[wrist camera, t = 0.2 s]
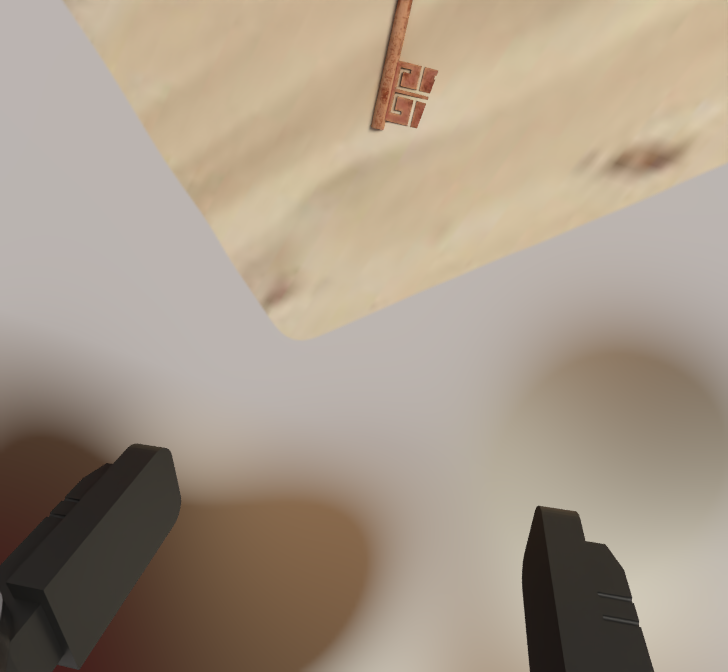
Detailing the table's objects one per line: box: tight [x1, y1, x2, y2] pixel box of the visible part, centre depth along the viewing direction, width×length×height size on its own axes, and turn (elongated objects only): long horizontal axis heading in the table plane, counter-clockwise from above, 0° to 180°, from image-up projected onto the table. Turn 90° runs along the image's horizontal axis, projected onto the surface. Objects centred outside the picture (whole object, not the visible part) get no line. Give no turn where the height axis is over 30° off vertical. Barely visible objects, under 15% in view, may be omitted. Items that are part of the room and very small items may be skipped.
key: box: [371, 0, 438, 130], centre depth 30 cm, size 6×1×15 cm
